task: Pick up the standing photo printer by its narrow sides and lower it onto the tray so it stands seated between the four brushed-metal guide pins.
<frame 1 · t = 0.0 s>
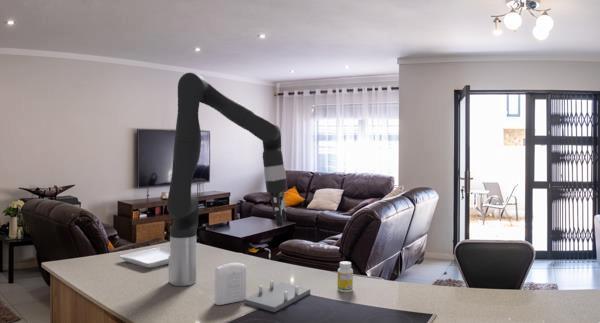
hand: (281, 223, 152), 22 cm above the kitchen island, tool pointing down, fingers open, 8 cm apart
salad plate: (154, 262, 184), on the kitchen island
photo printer: (230, 302, 138), on the kitchen island
supplement bottle: (345, 290, 150), on the kitchen island
pin tray: (278, 298, 141), on the kitchen island
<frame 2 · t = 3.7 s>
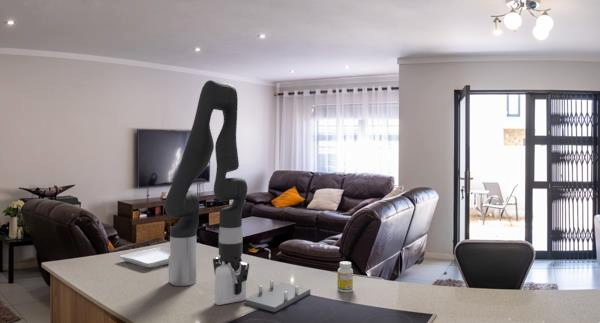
hand: (230, 292, 138), 3 cm above the kitchen island, tool pointing down, fingers closed on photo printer, 5 cm apart
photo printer: (230, 302, 138), on the kitchen island, touching gripper
everything else where it was.
when the fingers open (5 cm above the kitchen island, at t = 9.4 s): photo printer stays where it is, resting on pin tray.
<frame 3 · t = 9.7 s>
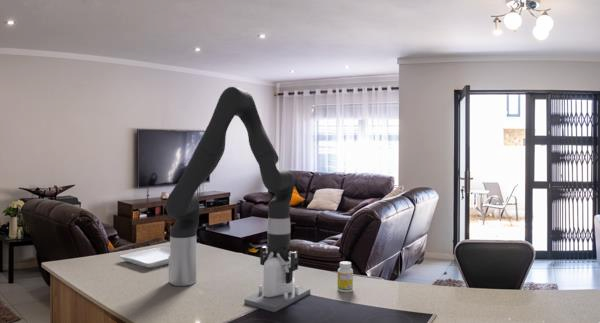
hand: (278, 280, 141), 6 cm above the kitchen island, tool pointing down, fingers open, 7 cm apart
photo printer: (278, 294, 141), point 1 cm above the kitchen island, touching pin tray
everything else where it was.
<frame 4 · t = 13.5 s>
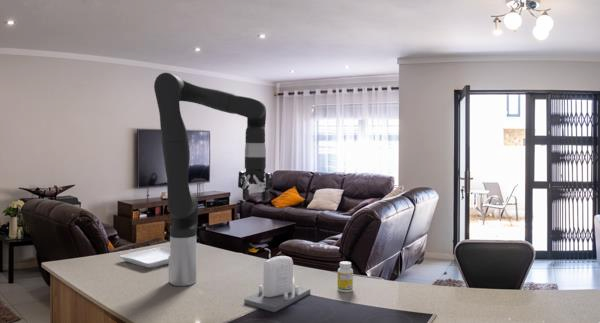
hand: (255, 200, 154), 30 cm above the kitchen island, tool pointing down, fingers open, 8 cm apart
nothing on the kitchen island moved.
at the end: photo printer 0.1 cm off-centre on the pin tray, point 1.3 cm above the pin tray's base; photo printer tilted 0°; the gripper is holding nothing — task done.
